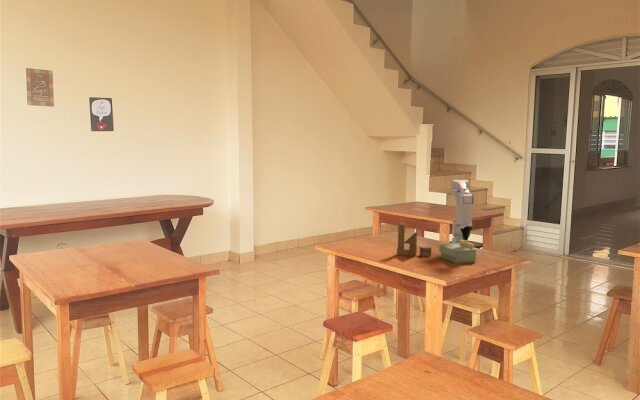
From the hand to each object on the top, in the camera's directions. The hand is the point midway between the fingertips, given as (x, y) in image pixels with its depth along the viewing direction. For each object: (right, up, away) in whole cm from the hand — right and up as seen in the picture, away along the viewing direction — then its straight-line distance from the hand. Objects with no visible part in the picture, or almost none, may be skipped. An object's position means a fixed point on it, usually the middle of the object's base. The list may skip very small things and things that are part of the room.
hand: (465, 239), depth 297 cm
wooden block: (-32, -10, +7) cm, 34 cm away
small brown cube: (-21, -10, +6) cm, 24 cm away
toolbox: (-5, -11, -2) cm, 12 cm away
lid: (-5, -7, -3) cm, 10 cm away
